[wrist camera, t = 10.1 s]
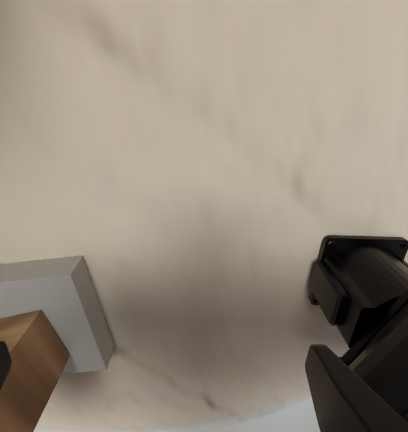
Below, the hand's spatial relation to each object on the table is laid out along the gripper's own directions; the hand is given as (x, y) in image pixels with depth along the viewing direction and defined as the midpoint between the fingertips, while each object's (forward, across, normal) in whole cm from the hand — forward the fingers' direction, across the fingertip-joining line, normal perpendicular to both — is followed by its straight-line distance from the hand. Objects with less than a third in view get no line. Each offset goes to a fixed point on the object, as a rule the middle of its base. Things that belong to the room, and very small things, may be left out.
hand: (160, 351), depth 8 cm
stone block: (+14, +12, +11) cm, 21 cm away
